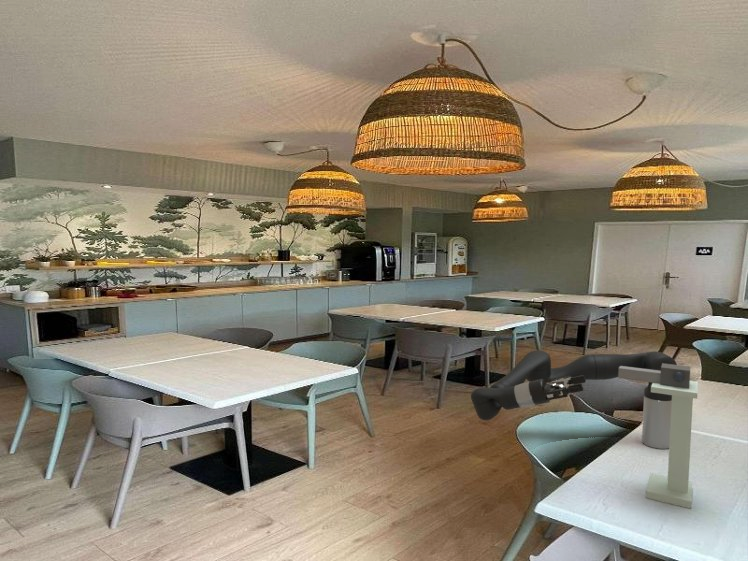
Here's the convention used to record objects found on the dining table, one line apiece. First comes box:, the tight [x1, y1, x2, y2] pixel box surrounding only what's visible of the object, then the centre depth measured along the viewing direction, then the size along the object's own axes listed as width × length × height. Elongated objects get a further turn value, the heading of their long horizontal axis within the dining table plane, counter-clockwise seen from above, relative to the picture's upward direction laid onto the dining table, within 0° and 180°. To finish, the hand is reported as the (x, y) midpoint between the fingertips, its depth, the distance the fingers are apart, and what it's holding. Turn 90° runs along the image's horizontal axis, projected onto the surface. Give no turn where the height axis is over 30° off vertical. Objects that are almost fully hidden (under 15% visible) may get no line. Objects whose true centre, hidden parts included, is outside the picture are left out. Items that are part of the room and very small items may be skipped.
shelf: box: [645, 380, 699, 509], centre depth 147 cm, size 14×11×32 cm
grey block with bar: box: [617, 363, 691, 389], centre depth 149 cm, size 7×18×5 cm, turn 57°
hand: (583, 382), depth 157 cm, fingers open, 8 cm apart
